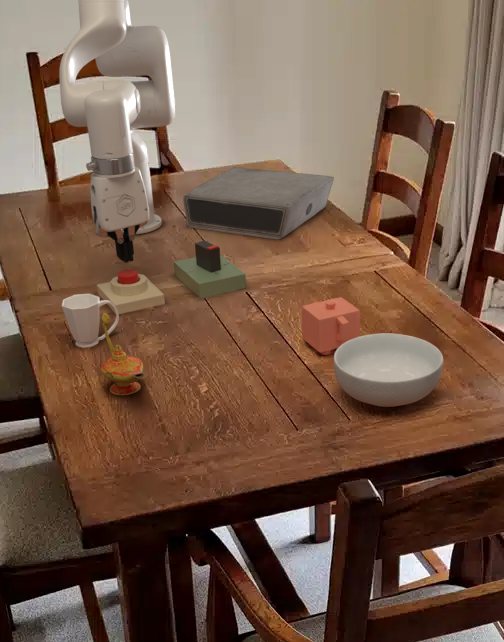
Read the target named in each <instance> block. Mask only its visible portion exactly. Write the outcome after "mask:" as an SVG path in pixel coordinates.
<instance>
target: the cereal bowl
mask: <svg viewBox="0 0 504 642" xmlns="http://www.w3.org/2000/svg"><path fill="white" fill-rule="evenodd" d="M443 366H444V356H443V353H442V351H440V349H439V348H438V347H437V346H435V345H434V344H433V343H431V342H429V341H427V340H425V339H422V338H420V337H416V336H412V335H408V334H403V333H402V334H401V333H394V332H393V333H389V332H388V333H386V332H383V333H371V334H365V335H361V336H360V337H357V338H354V339H351V340H349V341H347V342H345V343H343V344H342V345H341V346H340V347H339V348H336V350H335V351H334V355H333V373H334V375H335V379H336V381H337V384H338V385H339V386H340V388H341V389H342V391H344V393H346V394H347V395H348V396H350V397H351V398H353V399H354V400H356V401H358V402H361V403H365V404H369V405H372V406H375V407H379V408H381V407H382V408H392V407H393V408H394V407H399V406H405V405H409V404H413V403H416V402H419V401H420V400H422V399H424V398H426V397H427V396H428V395H429V394H430V393H432V391H434V389H435V388H436V387H437V385H438V383H439V382H440V378H441V376H442V372H443Z"/></svg>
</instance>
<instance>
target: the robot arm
mask: <svg viewBox="0 0 504 642" xmlns="http://www.w3.org/2000/svg"><path fill="white" fill-rule="evenodd" d="M77 1H78V13H79V15H78V16H79V18H78V19H79V27H80V28H79V30H78V31H77V33H76V34H75V35H74V36H73V38H72V39H70V42H69V43H68V44H67V46H66V48H65V50H64V52H63V55H62V57H61V60H60V63H59V71H58V72H59V73H58V74H59V75H58V76H59V92H60V93H59V94H60V105H61V110H62V115H63V118H64V120H65V121H66V122H67V123H68V124H69V125H70V126H72V127H76V128H83V127H87V134H88V140H89V147H90V154H91V156H90V161H89V162H88V163H87V162H86V164H85V167H86V170H87V171H88V172H91V171H92V173H91V174H90V187H89V188H90V189H89V190H90V192H89V193H90V208H91V216H92V221H93V224H94V226H95V230H94V231H95V232H94V233H95V235H96V236H98V237H99V238H108V237H109V238H111V239H112V240H113V241H114V246H115V252H116V257H117V258H118V259H119V260H120V261H122V262H123V263H125V264H127V263H129V262H133V261H134V255H135V250H134V242H133V241H134V240H135V238H136V235H142V234H147V233H150V232H153V231H156V230H158V229H159V228H161V226H162V225H163V221H162V220H163V219H162V217H161V216H159V215H158V214H155V207H154V198H153V188H152V181H151V180H152V179H151V171H150V170H151V169H150V161H149V152H148V147H147V145H146V143H145V142H144V140H143V139H142V138H141V137H140V135H139V134H138V133H136V131H135V130H137V129H146V128H159V127H160V128H161V127H167V126H170V125H171V124H172V123H173V122H174V121H175V117H176V99H175V90H174V89H175V87H174V79H173V70H172V69H173V68H172V58H171V51H170V44H169V40H168V37H167V34H166V32H165V31H164V30H163V29H162V28H161V27H159V26H156V25H139V26H138V25H137V26H134V25H133V24H132V21H131V12H130V3H129V0H77ZM94 60H95V64H96V68H97V69H98V71H99V73H100V74H101V75H102V76H104V77H109V78H128V77H140V76H148V77H150V80H138V81H136V80H135V81H134V80H132V81H131V80H130V81H129V80H125V79H118V80H117V79H115V80H97V81H95V80H94V81H81V82H76V79H77V76H78V74H79V73H80V71H81V70H82V68H83V67H85V66H86V65H87V64H88V63H90V62H91V61H94Z"/></svg>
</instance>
